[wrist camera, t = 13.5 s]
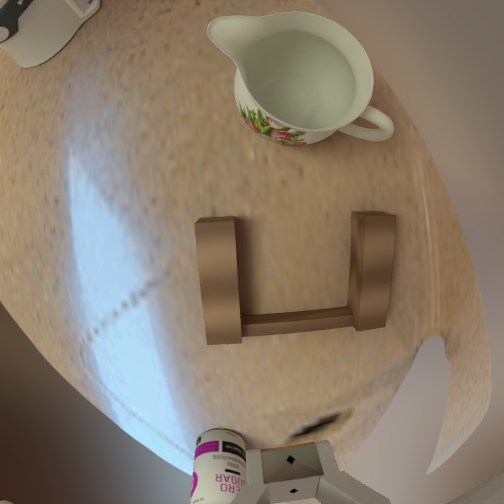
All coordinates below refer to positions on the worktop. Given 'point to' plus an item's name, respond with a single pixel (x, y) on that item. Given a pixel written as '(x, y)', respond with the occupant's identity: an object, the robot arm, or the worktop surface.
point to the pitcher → (299, 77)
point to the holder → (355, 314)
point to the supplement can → (218, 467)
